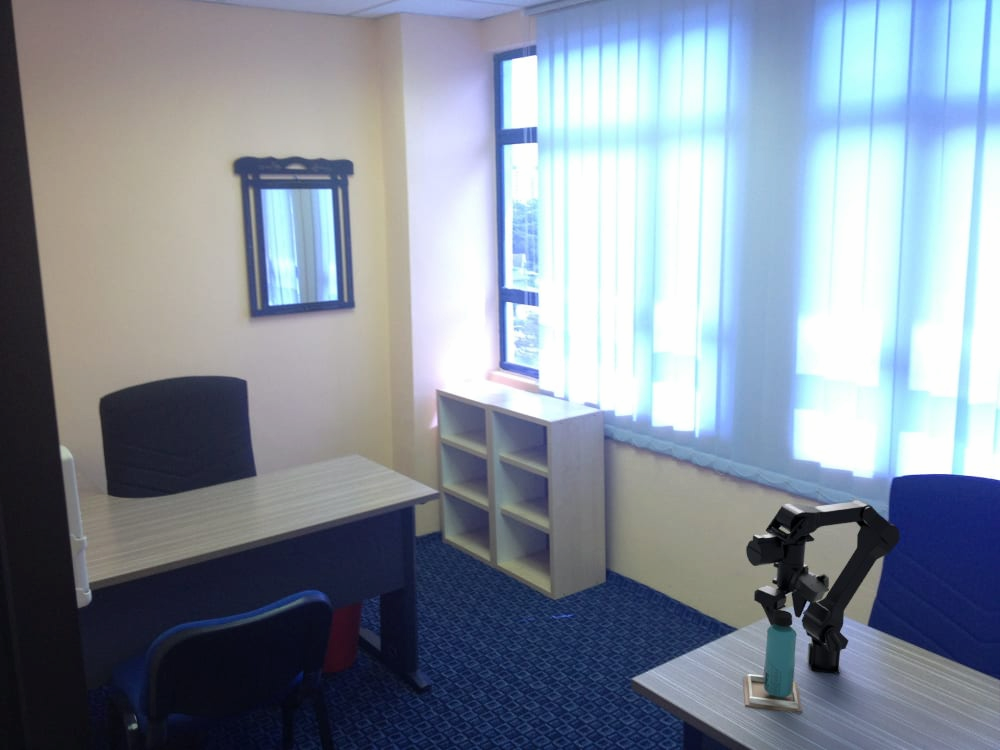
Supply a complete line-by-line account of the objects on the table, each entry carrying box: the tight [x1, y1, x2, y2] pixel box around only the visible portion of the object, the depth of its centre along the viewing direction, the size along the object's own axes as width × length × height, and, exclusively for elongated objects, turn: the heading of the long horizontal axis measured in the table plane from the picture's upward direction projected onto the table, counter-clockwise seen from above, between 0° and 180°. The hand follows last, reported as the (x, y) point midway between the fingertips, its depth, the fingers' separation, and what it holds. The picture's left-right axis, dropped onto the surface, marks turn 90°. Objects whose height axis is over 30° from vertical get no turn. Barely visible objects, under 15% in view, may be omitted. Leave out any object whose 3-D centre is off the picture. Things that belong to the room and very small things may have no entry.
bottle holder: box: [742, 673, 803, 714], centre depth 204 cm, size 12×12×2 cm
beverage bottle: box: [763, 609, 797, 697], centre depth 201 cm, size 6×7×20 cm
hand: (786, 622), depth 210 cm, fingers open, 9 cm apart
